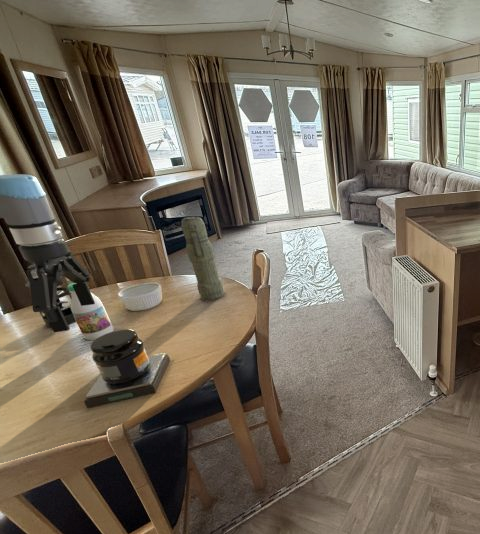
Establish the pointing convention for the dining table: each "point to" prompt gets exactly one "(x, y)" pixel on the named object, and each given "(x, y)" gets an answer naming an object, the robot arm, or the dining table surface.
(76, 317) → the milk bottle
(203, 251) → the green tiki statue
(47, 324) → the french press
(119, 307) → the dining table surface
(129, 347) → the supplement container
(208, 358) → the dining table surface
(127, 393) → the scale
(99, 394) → the grey flat slab
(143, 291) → the ramekin
